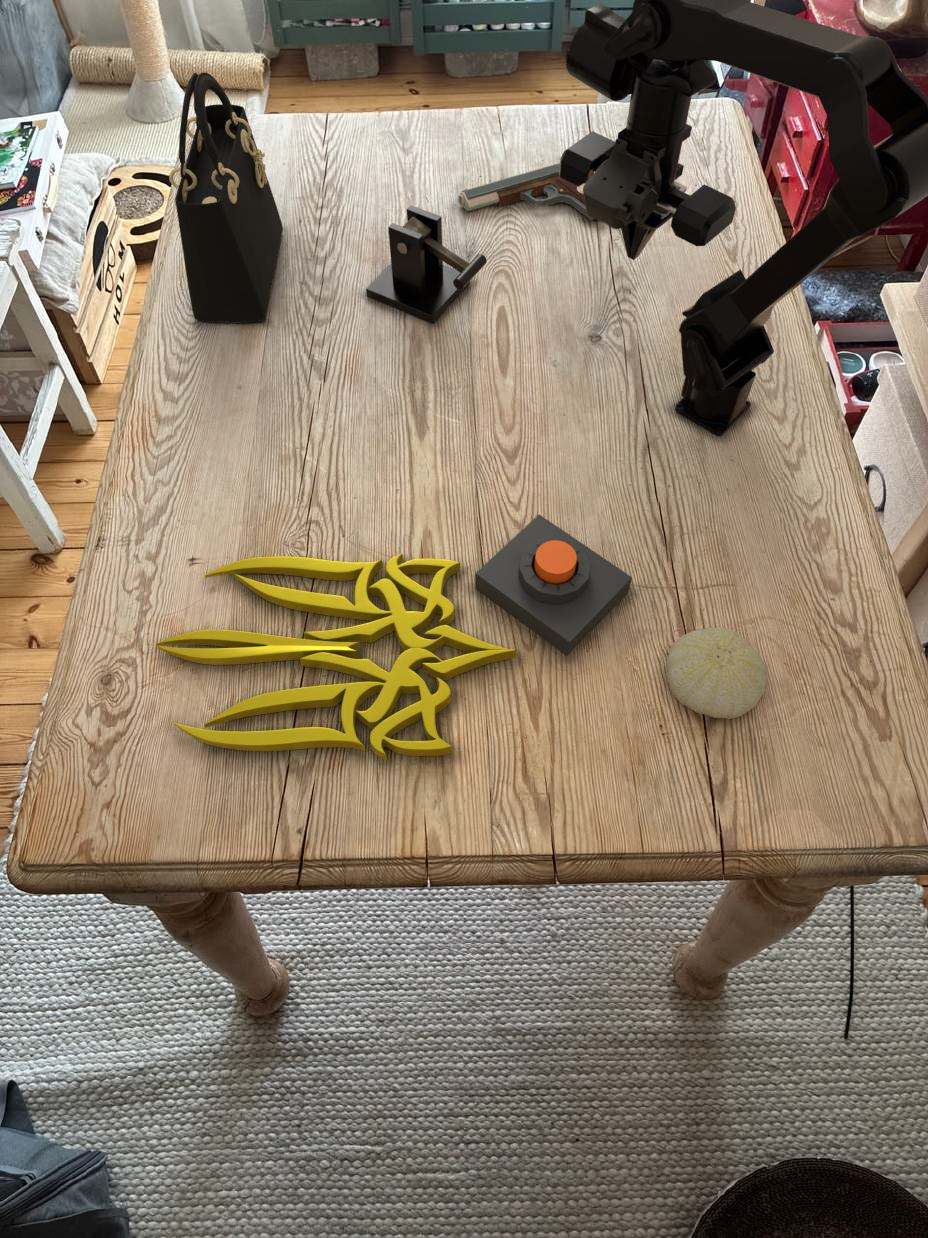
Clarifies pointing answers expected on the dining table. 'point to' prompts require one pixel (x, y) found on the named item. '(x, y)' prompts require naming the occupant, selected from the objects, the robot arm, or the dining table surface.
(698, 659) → the sea urchin shell
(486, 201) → the handgun
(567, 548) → the button
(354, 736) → the trident
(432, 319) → the bracket
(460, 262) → the lever
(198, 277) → the handbag
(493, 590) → the button box
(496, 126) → the dining table surface
